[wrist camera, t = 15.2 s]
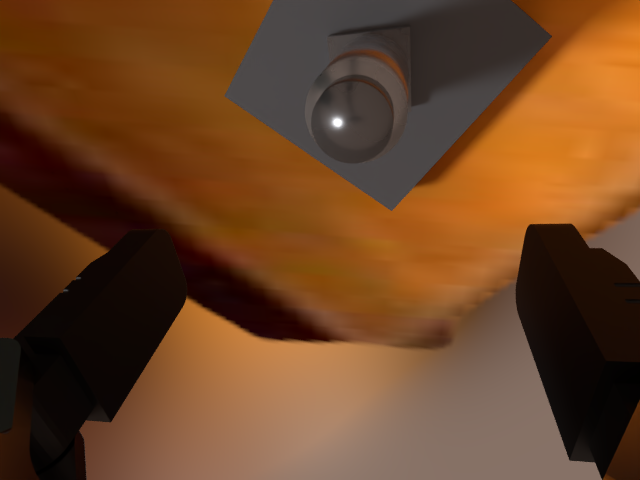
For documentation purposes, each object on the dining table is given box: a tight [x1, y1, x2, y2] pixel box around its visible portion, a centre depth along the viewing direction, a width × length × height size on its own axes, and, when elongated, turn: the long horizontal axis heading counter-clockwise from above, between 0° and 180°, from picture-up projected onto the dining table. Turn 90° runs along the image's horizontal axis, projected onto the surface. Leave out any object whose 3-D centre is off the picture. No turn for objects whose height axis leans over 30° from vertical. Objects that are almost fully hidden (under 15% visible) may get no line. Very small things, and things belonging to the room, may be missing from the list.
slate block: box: [225, 0, 552, 211], centre depth 29 cm, size 15×15×4 cm
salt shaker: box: [305, 25, 411, 164], centre depth 23 cm, size 5×5×11 cm
